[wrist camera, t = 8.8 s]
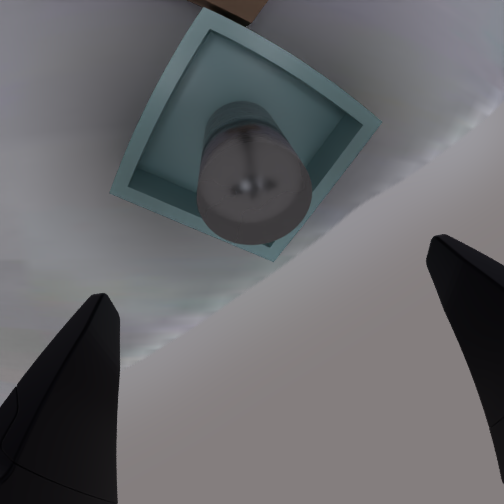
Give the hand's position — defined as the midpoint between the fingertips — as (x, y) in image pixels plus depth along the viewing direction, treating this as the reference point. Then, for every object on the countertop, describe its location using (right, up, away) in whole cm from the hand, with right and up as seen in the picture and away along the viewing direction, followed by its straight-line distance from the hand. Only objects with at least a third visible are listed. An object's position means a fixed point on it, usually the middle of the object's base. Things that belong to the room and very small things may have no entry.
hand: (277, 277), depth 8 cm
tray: (-1, +8, +9) cm, 12 cm away
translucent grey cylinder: (-1, +7, +9) cm, 11 cm away
